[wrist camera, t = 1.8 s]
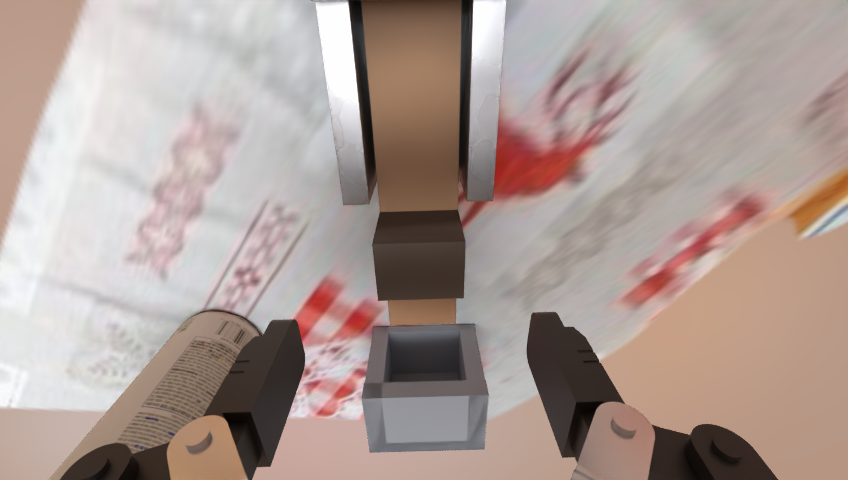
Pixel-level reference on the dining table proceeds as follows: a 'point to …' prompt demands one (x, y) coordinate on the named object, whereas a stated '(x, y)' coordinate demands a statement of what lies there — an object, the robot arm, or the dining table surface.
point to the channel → (352, 97)
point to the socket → (425, 389)
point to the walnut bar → (416, 156)
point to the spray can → (171, 386)
